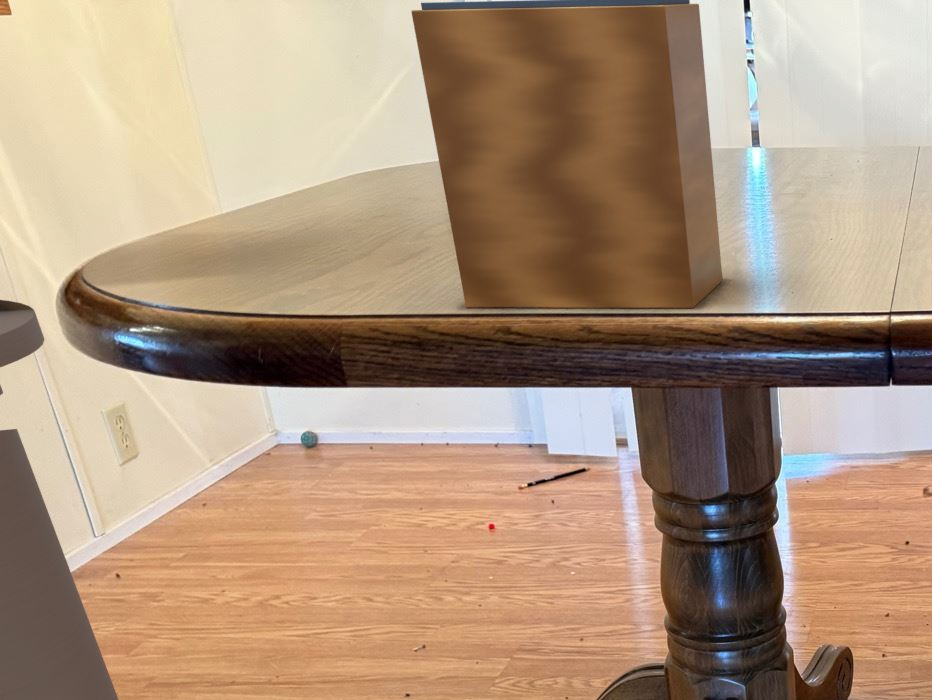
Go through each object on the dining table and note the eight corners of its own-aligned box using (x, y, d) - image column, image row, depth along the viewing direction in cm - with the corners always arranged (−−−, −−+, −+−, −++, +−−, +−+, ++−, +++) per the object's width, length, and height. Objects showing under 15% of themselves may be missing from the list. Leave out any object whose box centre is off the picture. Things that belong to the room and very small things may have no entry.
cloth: (421, 10, 77) (420, 2, 76) (472, 8, 83) (471, 1, 83) (658, 5, 75) (657, -3, 75) (690, 3, 82) (689, -3, 82)
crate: (465, 307, 85) (410, 10, 76) (513, 280, 93) (468, 8, 84) (693, 308, 83) (664, 5, 75) (722, 280, 91) (699, 3, 82)
